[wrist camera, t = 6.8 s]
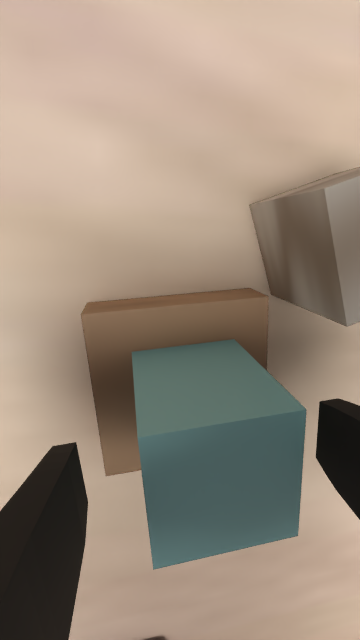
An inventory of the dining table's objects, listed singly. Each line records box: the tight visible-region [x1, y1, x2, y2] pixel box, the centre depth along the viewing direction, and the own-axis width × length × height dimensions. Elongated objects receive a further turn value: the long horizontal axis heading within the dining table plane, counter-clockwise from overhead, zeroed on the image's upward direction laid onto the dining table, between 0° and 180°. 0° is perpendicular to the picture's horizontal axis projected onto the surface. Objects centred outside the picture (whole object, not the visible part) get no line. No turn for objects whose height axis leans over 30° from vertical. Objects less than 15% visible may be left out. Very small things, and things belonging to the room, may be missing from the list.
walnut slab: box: [81, 288, 269, 476], centre depth 13 cm, size 7×7×2 cm
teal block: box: [132, 339, 306, 569], centre depth 10 cm, size 4×4×5 cm
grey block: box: [249, 167, 360, 326], centre depth 11 cm, size 4×4×5 cm
